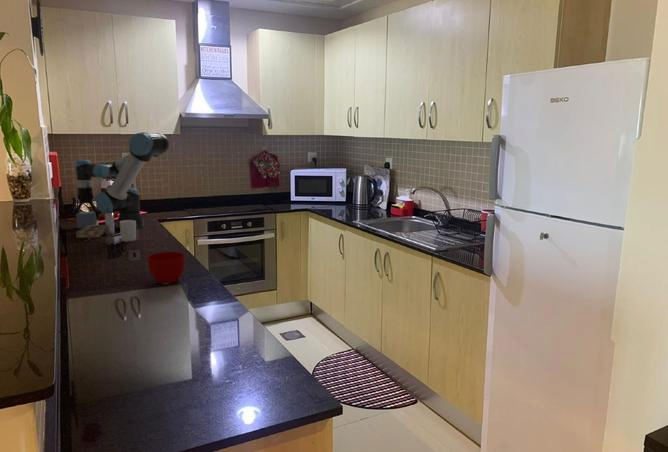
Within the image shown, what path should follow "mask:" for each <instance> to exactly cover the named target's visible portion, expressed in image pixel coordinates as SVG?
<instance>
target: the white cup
mask: <svg viewBox="0 0 668 452" xmlns="http://www.w3.org/2000/svg"><path fill="white" fill-rule="evenodd" d="M119 223H120V228H119V229H120V236H121V242H125V243H126V242H135V241H136V240H137V228H136V221H135V220H124V221H120V222H119Z"/></svg>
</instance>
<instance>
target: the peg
mask: <svg viewBox="0 0 668 452" xmlns="http://www.w3.org/2000/svg"><path fill="white" fill-rule="evenodd" d="M104 221H105V224H104V225H106V233H105V235H106V236H108V237H109V236H111V237H112V236H115V235H116V231H115V212H112V213H111V212H110V213H104Z"/></svg>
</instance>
